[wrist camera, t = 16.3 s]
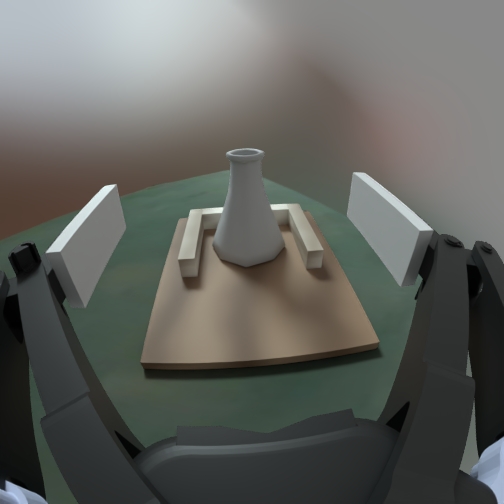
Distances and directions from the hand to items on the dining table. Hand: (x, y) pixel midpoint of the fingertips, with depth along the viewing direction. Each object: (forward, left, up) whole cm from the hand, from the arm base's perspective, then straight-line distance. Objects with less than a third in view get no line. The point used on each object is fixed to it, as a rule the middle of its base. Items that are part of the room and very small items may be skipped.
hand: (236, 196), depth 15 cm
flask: (+1, +11, -10) cm, 15 cm away
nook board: (+1, +8, -11) cm, 13 cm away
